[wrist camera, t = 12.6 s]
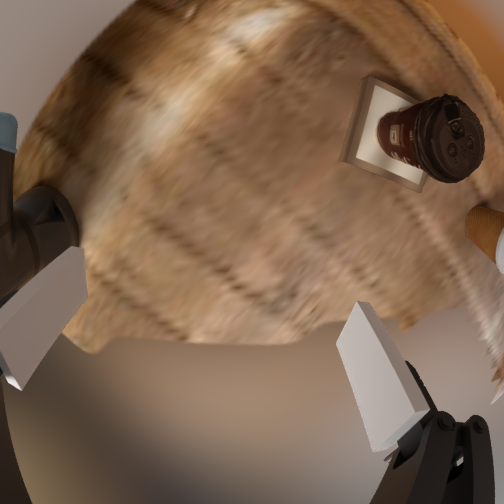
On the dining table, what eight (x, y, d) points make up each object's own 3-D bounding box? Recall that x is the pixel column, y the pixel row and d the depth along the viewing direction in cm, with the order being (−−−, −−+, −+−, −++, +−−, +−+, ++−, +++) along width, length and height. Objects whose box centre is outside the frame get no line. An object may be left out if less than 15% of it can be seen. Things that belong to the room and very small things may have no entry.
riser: (339, 160, 33) (346, 162, 30) (360, 79, 28) (370, 75, 25) (410, 189, 34) (421, 194, 31) (430, 115, 29) (443, 115, 26)
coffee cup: (374, 91, 26) (435, 73, 14) (427, 116, 27) (495, 117, 15) (361, 156, 29) (418, 169, 18) (414, 175, 30) (479, 200, 18)
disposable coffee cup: (450, 233, 36) (495, 264, 25) (474, 186, 33) (522, 206, 22) (475, 255, 38) (514, 286, 27) (496, 213, 34) (539, 236, 23)
